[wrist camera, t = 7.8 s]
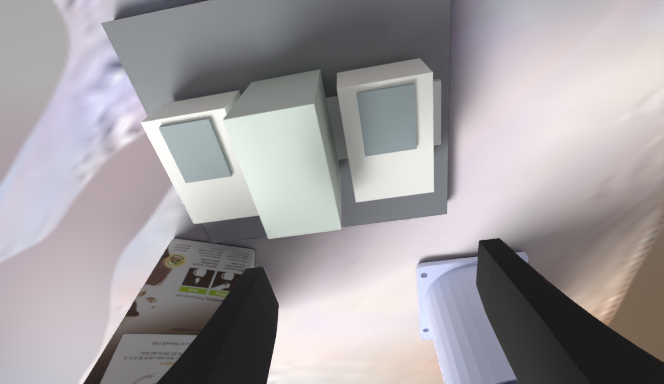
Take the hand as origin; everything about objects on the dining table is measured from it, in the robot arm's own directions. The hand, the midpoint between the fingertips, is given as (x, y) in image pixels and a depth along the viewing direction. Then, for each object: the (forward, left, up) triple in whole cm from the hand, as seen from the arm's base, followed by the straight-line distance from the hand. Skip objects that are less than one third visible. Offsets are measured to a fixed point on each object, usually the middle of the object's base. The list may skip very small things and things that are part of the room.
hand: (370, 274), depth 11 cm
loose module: (+2, +3, -9) cm, 10 cm away
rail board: (+2, +3, -10) cm, 11 cm away
